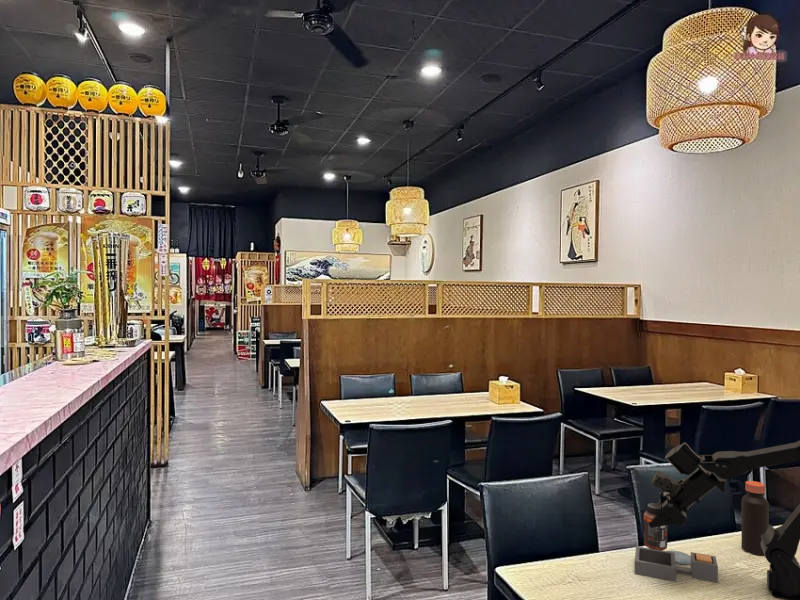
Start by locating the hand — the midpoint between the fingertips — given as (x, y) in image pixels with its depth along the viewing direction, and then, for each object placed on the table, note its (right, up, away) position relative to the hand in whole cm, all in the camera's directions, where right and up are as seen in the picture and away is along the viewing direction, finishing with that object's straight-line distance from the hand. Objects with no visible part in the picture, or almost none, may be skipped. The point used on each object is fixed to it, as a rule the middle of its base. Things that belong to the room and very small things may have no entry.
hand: (649, 521), depth 153 cm
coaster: (+11, -13, +6) cm, 18 cm away
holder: (+6, -13, -3) cm, 14 cm away
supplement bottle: (+1, -7, -1) cm, 7 cm away
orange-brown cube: (+13, -12, -4) cm, 18 cm away
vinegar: (+36, -13, +11) cm, 40 cm away
